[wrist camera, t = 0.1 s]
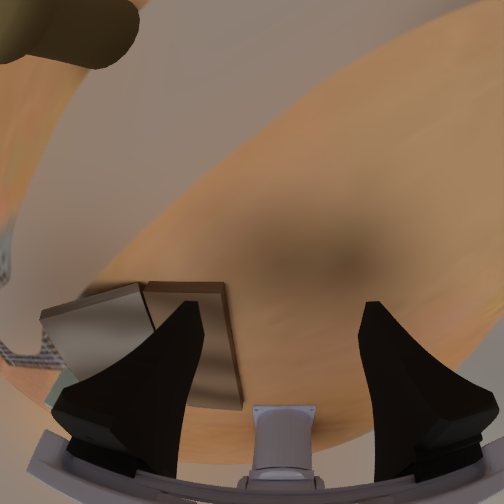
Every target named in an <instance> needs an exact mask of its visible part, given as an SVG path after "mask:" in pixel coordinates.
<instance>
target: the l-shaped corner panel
mask: <svg viewBox="0 0 504 504" xmlns="http://www.w3.org/2000/svg"><path fill="white" fill-rule="evenodd" d="M78 382H79V381H78V380H77V378H76V377H75V375H74V374H73V373H72V371H70V370H69V369H67V368H65V367H64V369H63V370H62V372H61V374H60V375H59V377H58V379H57V381H56V382H55V384H54V386H53V387H52V389H51V391H50V393H49V394H48V396H47V398H46V400H45V402H44V403H45V405H47V406H48V407H50V408H51V409H52V408H53V406H54V404H55V402H56V401H57V399H58V397H59V395H60V393H61V391H62V390H63V388H65V387H68V386H70V385H73V384H75V383H78Z"/></svg>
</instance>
